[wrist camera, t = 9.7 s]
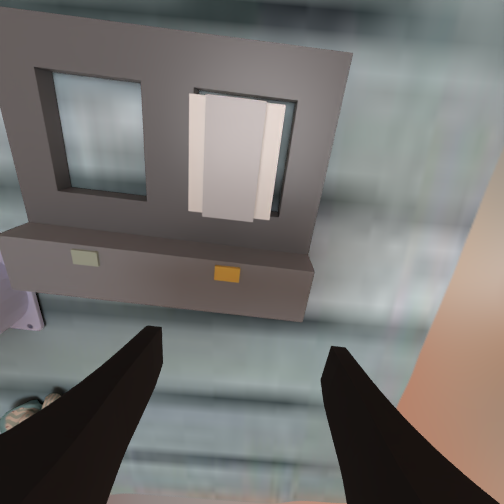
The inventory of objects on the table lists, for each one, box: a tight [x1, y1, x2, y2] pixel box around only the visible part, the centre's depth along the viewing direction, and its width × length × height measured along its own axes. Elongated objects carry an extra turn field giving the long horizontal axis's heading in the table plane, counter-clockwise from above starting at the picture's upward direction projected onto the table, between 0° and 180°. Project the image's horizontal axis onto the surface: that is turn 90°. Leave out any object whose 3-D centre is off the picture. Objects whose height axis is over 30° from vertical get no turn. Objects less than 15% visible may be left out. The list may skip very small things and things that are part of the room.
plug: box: [188, 93, 286, 222], centre depth 15 cm, size 4×5×7 cm
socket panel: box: [0, 7, 353, 322], centre depth 17 cm, size 20×16×4 cm
